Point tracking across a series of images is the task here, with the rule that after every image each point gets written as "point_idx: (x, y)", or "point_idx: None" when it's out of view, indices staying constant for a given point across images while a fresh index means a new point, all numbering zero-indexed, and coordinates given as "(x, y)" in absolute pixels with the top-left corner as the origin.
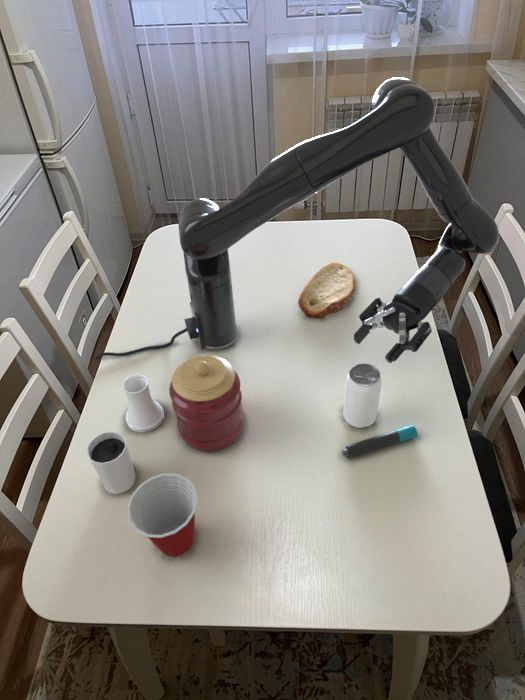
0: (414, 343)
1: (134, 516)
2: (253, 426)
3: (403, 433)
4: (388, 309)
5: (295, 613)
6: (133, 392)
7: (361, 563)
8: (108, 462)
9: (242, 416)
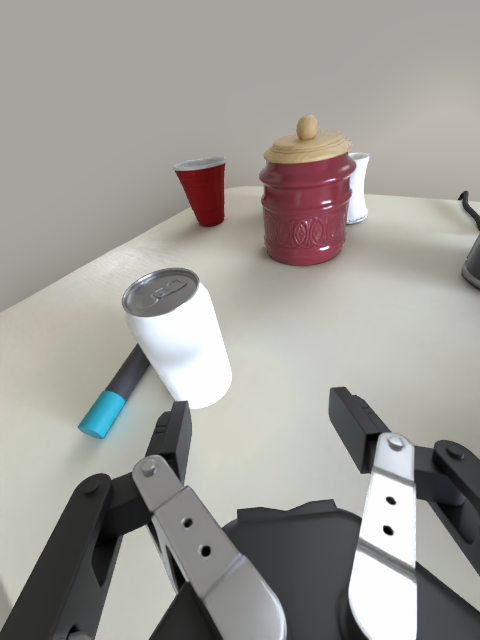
0: (74, 495)
1: (209, 163)
2: (279, 272)
3: (98, 398)
4: (409, 583)
5: (110, 254)
6: None
7: (82, 292)
8: None
9: (284, 247)
